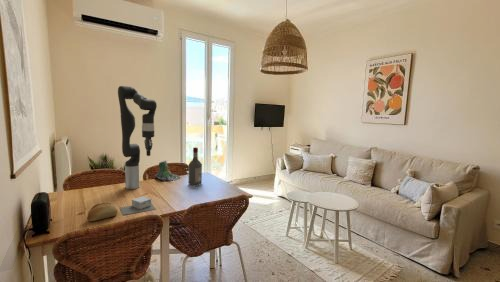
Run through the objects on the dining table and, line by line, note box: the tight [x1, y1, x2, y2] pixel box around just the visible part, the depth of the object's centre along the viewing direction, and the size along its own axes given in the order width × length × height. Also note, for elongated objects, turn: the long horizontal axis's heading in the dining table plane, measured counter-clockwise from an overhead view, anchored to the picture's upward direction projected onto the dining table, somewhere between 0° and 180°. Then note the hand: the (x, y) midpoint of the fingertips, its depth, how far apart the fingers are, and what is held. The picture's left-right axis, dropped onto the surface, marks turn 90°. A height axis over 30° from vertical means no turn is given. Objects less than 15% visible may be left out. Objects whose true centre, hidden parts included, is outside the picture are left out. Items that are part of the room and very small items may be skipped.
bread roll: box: [86, 202, 119, 222], centre depth 136 cm, size 10×15×8 cm, turn 139°
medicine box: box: [131, 195, 152, 209], centre depth 154 cm, size 8×4×9 cm
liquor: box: [187, 146, 203, 186], centre depth 201 cm, size 9×9×30 cm
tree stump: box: [155, 160, 181, 182], centre depth 214 cm, size 18×20×18 cm
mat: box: [119, 202, 157, 216], centre depth 151 cm, size 12×18×1 cm, turn 125°
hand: (148, 155), depth 166 cm, fingers closed
